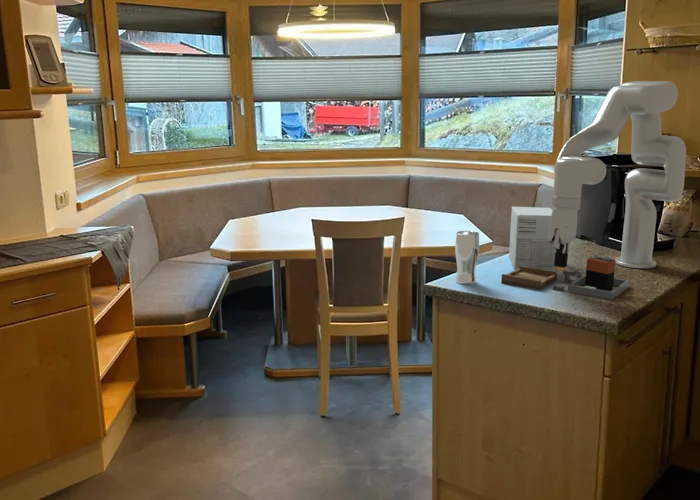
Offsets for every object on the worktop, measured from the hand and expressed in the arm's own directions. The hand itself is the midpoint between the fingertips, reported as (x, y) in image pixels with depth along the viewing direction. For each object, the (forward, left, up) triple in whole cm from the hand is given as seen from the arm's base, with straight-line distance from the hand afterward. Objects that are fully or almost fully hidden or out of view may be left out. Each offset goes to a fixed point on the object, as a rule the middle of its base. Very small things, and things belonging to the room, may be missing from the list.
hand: (560, 266), depth 193 cm
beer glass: (+10, -25, -7) cm, 28 cm away
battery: (-7, +9, -7) cm, 14 cm away
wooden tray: (-2, -10, -7) cm, 12 cm away
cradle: (-7, +9, -7) cm, 14 cm away
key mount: (-6, 0, -7) cm, 9 cm away
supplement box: (-22, -18, -7) cm, 30 cm away
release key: (-5, 0, -4) cm, 6 cm away
